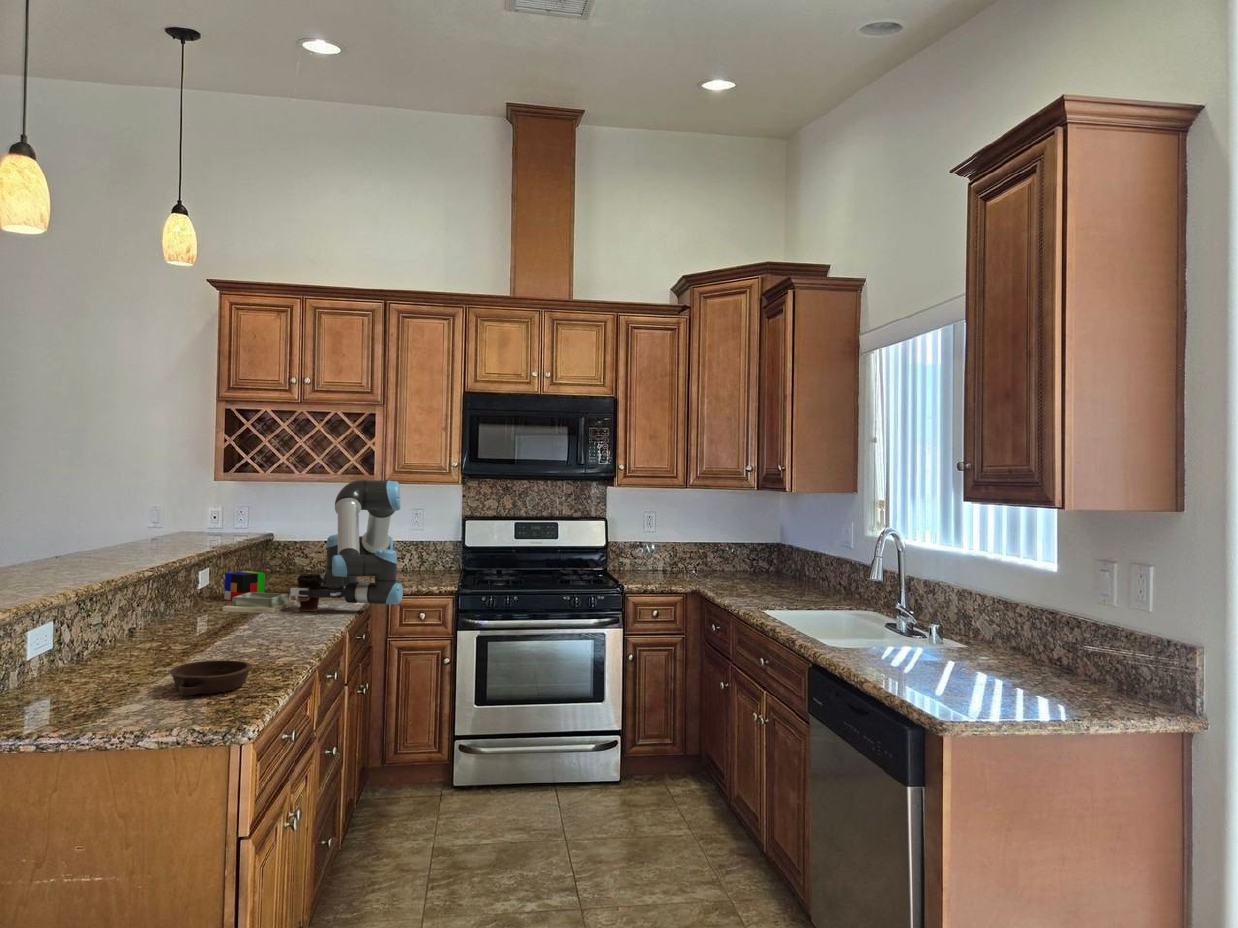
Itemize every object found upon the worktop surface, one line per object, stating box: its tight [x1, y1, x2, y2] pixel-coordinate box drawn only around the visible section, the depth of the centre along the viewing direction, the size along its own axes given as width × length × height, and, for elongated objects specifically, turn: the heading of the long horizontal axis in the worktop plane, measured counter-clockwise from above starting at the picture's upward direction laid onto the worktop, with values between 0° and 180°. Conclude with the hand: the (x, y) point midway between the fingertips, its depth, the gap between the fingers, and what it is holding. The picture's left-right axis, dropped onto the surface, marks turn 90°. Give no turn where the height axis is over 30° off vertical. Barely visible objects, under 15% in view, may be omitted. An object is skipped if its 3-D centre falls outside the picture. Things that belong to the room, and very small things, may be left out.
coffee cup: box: [296, 573, 323, 612], centre depth 317 cm, size 9×8×13 cm
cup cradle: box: [222, 592, 297, 614], centre depth 319 cm, size 20×18×4 cm
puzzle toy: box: [224, 570, 266, 601], centre depth 338 cm, size 10×10×10 cm
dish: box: [169, 660, 253, 697], centre depth 206 cm, size 18×22×5 cm
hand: (295, 590), depth 317 cm, fingers closed on coffee cup, 7 cm apart
